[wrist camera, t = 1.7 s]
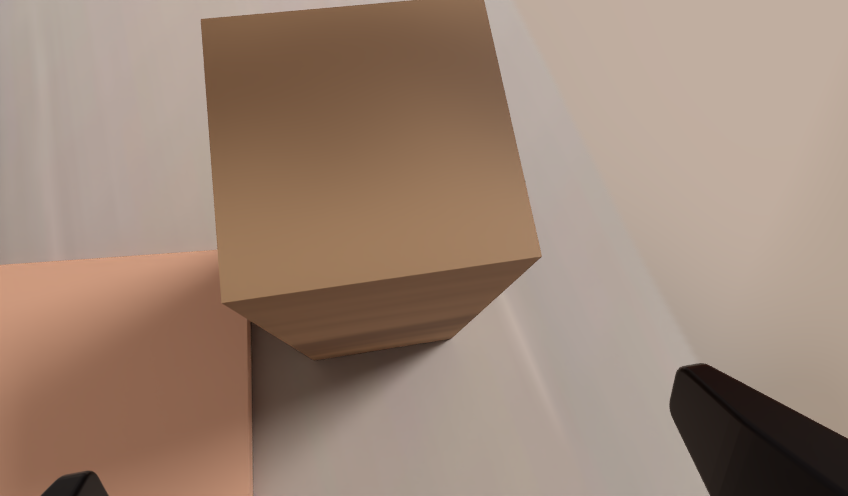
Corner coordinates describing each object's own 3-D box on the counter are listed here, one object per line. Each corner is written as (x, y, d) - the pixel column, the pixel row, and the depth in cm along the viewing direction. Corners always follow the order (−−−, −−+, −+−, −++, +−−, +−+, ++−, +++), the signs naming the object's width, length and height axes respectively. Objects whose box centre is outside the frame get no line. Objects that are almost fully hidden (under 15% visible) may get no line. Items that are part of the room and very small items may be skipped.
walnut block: (451, 338, 20) (542, 256, 9) (314, 360, 20) (221, 302, 8) (428, 211, 22) (482, -6, 10) (299, 228, 21) (200, 18, 10)
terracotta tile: (254, 582, 18) (249, 588, 17) (-118, 629, 17) (-136, 637, 16) (249, 252, 21) (246, 248, 20) (-70, 274, 20) (-83, 270, 19)
